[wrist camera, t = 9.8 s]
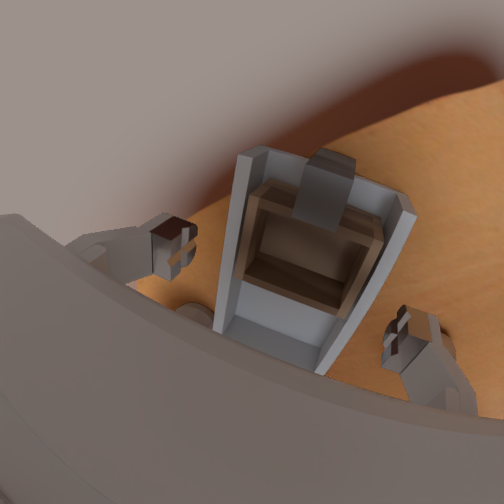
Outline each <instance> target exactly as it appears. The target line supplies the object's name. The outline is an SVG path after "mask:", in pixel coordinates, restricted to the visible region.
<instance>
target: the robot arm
mask: <svg viewBox="0 0 504 504" xmlns="http://www.w3.org/2000/svg"><path fill="white" fill-rule="evenodd" d="M197 231H198V227H197V226H196V224H193V223H191V222H188V221H186V220H183V219H181V218H178V217H176V216H173V215H171V214H168V213H161V214H159V215H158V216H156V217H154V218H153V219H151V220H149V221H148V222H146V223H144V224H143V225H141V226H140V227H136V226H135V227H127V228H120V229H114V230H107V231H101V232H95V233H89V234H83V235H82V236H80V237H78V238H77V239H75V240H73V241H72V242H71V243H69V244H67V245H66V246H63V245H61V244H60V243H59V242H57V241H56V240H54V239H53V238H51V237H50V236H48V235H47V234H46V233H44V232H43V231H42V230H40V229H39V228H37V227H36V226H35V225H33V224H32V223H31V222H29V221H28V220H26V219H25V218H24V217H23V216H21V215H19V214H5V215H0V504H504V420H501V419H494V418H486V417H480V416H478V410H477V401H476V393H475V391H474V390H473V388H472V386H471V385H470V383H469V381H468V380H467V378H466V377H465V375H464V374H463V372H462V371H461V369H460V368H459V366H458V364H457V363H456V361H455V360H454V359H453V357H452V356H451V354H450V353H449V351H448V350H447V348H445V347H443V342H442V336H441V331H440V326H439V320H438V318H437V316H435V315H432V314H429V313H426V312H423V311H420V310H417V309H415V308H412V307H409V306H406V305H402V306H401V307H400V309H399V310H398V312H397V318H396V319H394V320H392V321H391V322H390V324H389V325H388V327H387V329H386V331H385V333H384V337H383V346H384V347H385V351H384V352H383V353H382V366H381V367H382V368H385V369H388V370H391V371H394V372H396V373H399V374H400V376H401V379H402V381H403V384H404V386H405V389H406V392H407V394H408V397H409V399H410V402H408V401H404V400H400V399H396V398H393V397H389V396H385V395H382V394H378V393H375V392H372V391H368V390H365V389H362V388H359V387H355V386H352V385H349V384H346V383H343V382H340V381H337V380H334V379H331V378H328V377H326V376H323V375H320V374H317V373H314V372H312V371H309V370H306V369H304V368H301V367H298V366H296V365H293V364H291V363H288V362H285V361H283V360H280V359H278V358H275V357H273V356H270V355H268V354H266V353H263V352H261V351H258V350H256V349H254V348H251V347H249V346H247V345H244V344H242V343H240V342H238V341H235V340H233V339H231V338H229V337H226V336H224V335H222V334H220V333H218V332H216V331H213V330H211V329H209V328H207V327H205V326H203V325H201V324H199V323H197V322H195V321H193V320H191V319H189V318H187V317H185V316H183V315H181V314H179V313H177V312H175V311H173V310H171V309H169V308H167V307H165V306H163V305H162V304H160V303H158V302H156V301H154V300H152V299H150V298H149V297H147V296H145V295H143V294H141V293H140V292H138V291H136V290H134V289H132V288H131V287H129V286H127V285H125V284H126V283H129V282H132V281H135V280H138V279H141V278H144V277H147V276H150V275H152V274H155V275H157V276H159V277H161V278H164V279H166V280H168V281H170V282H171V281H172V280H173V279H174V278H175V277H176V276H177V275H178V274H179V273H180V268H182V267H186V266H188V265H189V264H190V263H191V261H192V259H193V258H194V255H195V252H196V243H195V241H194V238H195V237H196V236H197Z"/></svg>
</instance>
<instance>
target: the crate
mask: <svg viewBox="0 0 504 504" xmlns="http://www.w3.org/2000/svg"><path fill="white" fill-rule="evenodd" d="M355 163H356V159H353V158H350V157H348V156H345V155H342V154H339V153H336V152H333V151H330V150H327V149H324V148H320V149H319V150H318V151H317V152H316V153H315V154H314V156H313V157H312V158H311V159H310V160H309V161H308V162H307V163H306V164H305V168H304V171H303V175H302V179H301V183H300V186H299V187H296V186H293V185H290V184H287V183H283V182H280V181H277V180H274V179H270V178H269V179H268V180H266V181H265V182H264V183H263V184H261V185H260V186H259V187H258V188H257V189H255V190H254V191H253V192H252V193H251V194H249V199H248V204H247V210H246V215H245V220H244V226H243V231H242V236H241V242H240V247H239V253H238V258H237V264H236V269H235V275H234V277H235V278H237V279H240V280H242V281H245V282H247V283H250V284H252V285H255V286H258V287H260V288H263V289H265V290H268V291H270V292H273V293H276V294H278V295H281V296H283V297H286V298H289V299H291V300H294V301H296V302H299V303H302V304H304V305H307V306H310V307H312V308H315V309H318V310H320V311H323V312H326V313H329V314H331V315H334V316H337V317H340V318H342V319H345V317H346V315H347V313H348V312H349V310H350V308H351V306H352V305H353V303H354V301H355V299H356V297H357V295H358V294H359V292H360V290H361V288H362V286H363V284H364V282H365V280H366V279H367V277H368V275H369V273H370V271H371V269H372V267H373V265H374V263H375V261H376V259H377V257H378V254H379V252H380V250H381V248H382V246H383V244H384V237H383V229H382V222H381V217H379V216H376V215H374V214H371V213H369V212H366V211H364V210H361V209H358V208H356V207H353V206H350V205H348V204H346V203H347V200H348V197H349V194H350V192H351V189H352V186H353V183H354V176H355Z"/></svg>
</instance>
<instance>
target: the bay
mask: <svg viewBox="0 0 504 504" xmlns="http://www.w3.org/2000/svg"><path fill="white" fill-rule="evenodd" d="M309 160H310V159H308V158H305V157H302V156H299V155H295V154H292V153H288V152H285V151H281V150H278V149H274V148H270V147H266V146H263V145H259V146H256V147H254V148H251V149H249V150H247V151H245V152H242V153H240V154H238V158H237V163H236V169H235V176H234V181H233V187H232V194H231V200H230V206H229V213H228V219H227V226H226V233H225V240H224V247H223V254H222V261H221V268H220V275H219V283H218V290H217V298H216V306H215V314H214V322H213V331H216V332H218V333H220V334H222V335H224V336H226V337H229V338H231V339H233V340H235V341H238V342H240V343H242V344H244V345H247V346H249V347H251V348H254V349H256V350H258V351H261V352H263V353H266V354H268V355H270V356H273V357H275V358H278V359H280V360H283V361H285V362H288V363H291V364H293V365H296V366H298V367H301V368H304V369H306V370H309V371H312V372H314V373H317V374H320V375H323V376H324V374H325V373H326V372H327V370H328V369H329V368H330V366H331V365H332V364H333V362H334V361H335V359H336V358H337V357H338V355H339V354H340V352H341V351H342V349H343V348H344V346H345V345H346V344H347V342H348V341H349V339H350V338H351V336H352V335H353V333H354V332H355V330H356V328H357V327H358V325H359V324H360V322H361V321H362V319H363V317H364V316H365V314H366V313H367V311H368V309H369V308H370V306H371V304H372V303H373V301H374V299H375V298H376V296H377V294H378V292H379V291H380V289H381V287H382V285H383V284H384V282H385V280H386V278H387V276H388V275H389V273H390V271H391V269H392V267H393V265H394V263H395V262H396V260H397V258H398V256H399V254H400V252H401V250H402V248H403V246H404V244H405V242H406V240H407V238H408V236H409V233H410V231H411V229H412V227H413V225H414V223H415V220H416V218H417V215H416V212H415V210H414V208H413V206H412V204H411V202H410V199H409V197H408V195H406V194H403V193H401V192H399V191H396V190H394V189H391V188H389V187H387V186H384V185H382V184H379V183H377V182H374V181H371V180H369V179H366V178H364V177H361V176H358V175H356V174H355V176H354V183H353V186H352V189H351V192H350V194H349V197H348V200H347V203H346V204H348V205H350V206H353V207H356V208H358V209H361V210H364V211H366V212H369V213H371V214H374V215H376V216H379V217H381V222H382V229H383V237H384V244H383V246H382V248H381V250H380V252H379V254H378V257H377V259H376V261H375V263H374V265H373V267H372V269H371V271H370V273H369V275H368V277H367V279H366V280H365V282H364V284H363V286H362V288H361V290H360V292H359V294H358V295H357V297H356V299H355V301H354V303H353V305H352V306H351V308H350V310H349V312H348V313H347V315H346V317H345V319H342V318H340V317H337V316H334V315H331V314H329V313H326V312H323V311H320V310H318V309H315V308H312V307H310V306H307V305H304V304H302V303H299V302H296V301H294V300H291V299H289V298H286V297H283V296H281V295H278V294H276V293H273V292H270V291H268V290H265V289H263V288H260V287H258V286H255V285H252V284H250V283H247V282H245V281H242V280H240V279H237V278H235V277H234V275H235V269H236V264H237V258H238V253H239V247H240V242H241V236H242V231H243V226H244V220H245V215H246V210H247V204H248V199H249V194H251V193H252V192H253V191H254V190H255V189H257V188H258V187H259V186H260V185H261V184H263V183H264V182H265V181H266V180H268V179H269V178H270V179H274V180H277V181H280V182H283V183H287V184H290V185H293V186H296V187H299V186H300V183H301V179H302V175H303V171H304V168H305V164H306V163H307V162H308V161H309Z"/></svg>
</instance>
